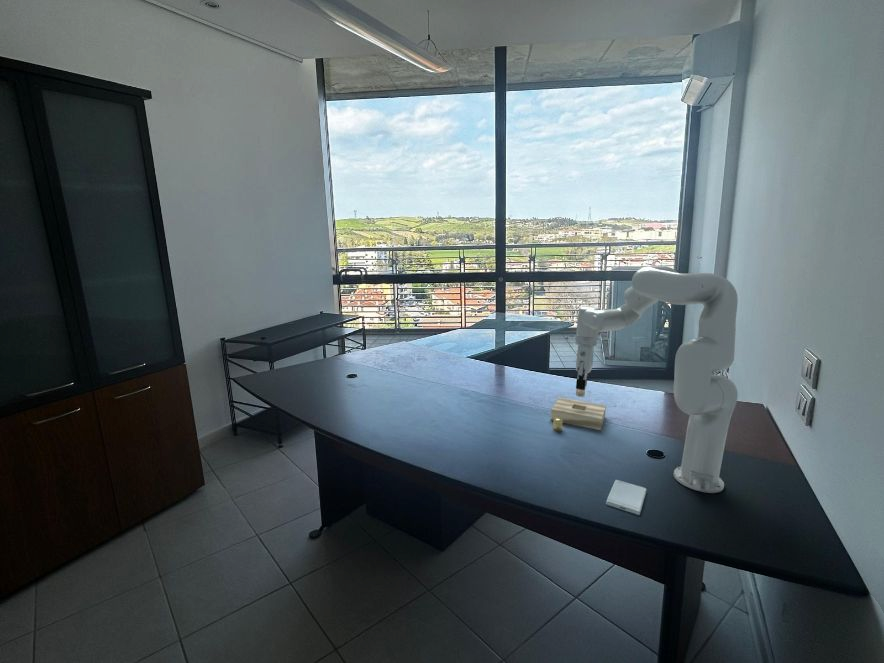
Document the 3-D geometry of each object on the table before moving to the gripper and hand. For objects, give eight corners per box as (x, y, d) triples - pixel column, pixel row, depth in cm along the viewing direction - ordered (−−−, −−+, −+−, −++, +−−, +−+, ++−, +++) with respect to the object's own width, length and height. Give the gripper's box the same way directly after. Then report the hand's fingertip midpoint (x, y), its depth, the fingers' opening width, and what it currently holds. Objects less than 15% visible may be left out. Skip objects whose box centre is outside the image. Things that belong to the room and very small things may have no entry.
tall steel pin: (583, 397, 164) (586, 371, 162) (575, 395, 165) (577, 370, 163) (585, 394, 167) (587, 369, 164) (576, 393, 168) (579, 368, 166)
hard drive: (615, 479, 124) (606, 500, 114) (646, 488, 120) (640, 511, 110) (614, 484, 125) (605, 506, 114) (646, 493, 121) (639, 517, 110)
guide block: (600, 430, 158) (602, 418, 157) (550, 420, 165) (551, 408, 164) (604, 416, 170) (606, 405, 169) (557, 407, 178) (558, 397, 177)
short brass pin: (561, 432, 156) (562, 421, 155) (551, 430, 157) (552, 419, 156) (562, 428, 158) (563, 418, 157) (553, 427, 160) (554, 416, 159)
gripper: (594, 346, 152) (588, 396, 156) (599, 337, 167) (594, 383, 171) (571, 343, 156) (567, 392, 160) (579, 334, 170) (574, 379, 174)
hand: (581, 387), depth 165 cm, fingers closed on tall steel pin, 3 cm apart
